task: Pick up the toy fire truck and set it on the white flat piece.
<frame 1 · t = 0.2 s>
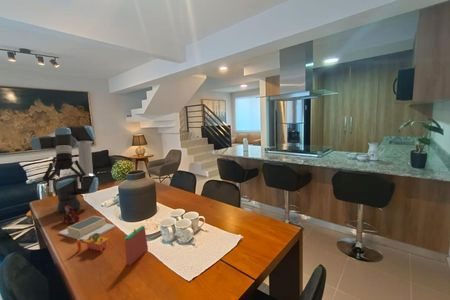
hand: (65, 190, 121), 27 cm above the table, fingers open, 13 cm apart
toy building block set: (111, 251, 107), on the table
white flat piece: (88, 230, 129), on the table
toy fire truck: (71, 222, 142), on the table
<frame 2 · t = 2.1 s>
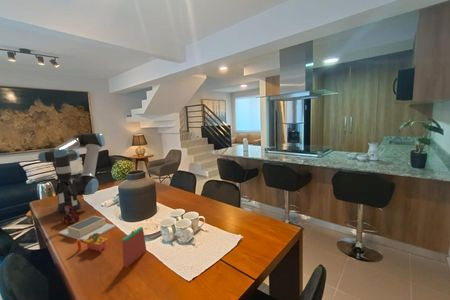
hand: (68, 204, 140), 12 cm above the table, fingers open, 13 cm apart
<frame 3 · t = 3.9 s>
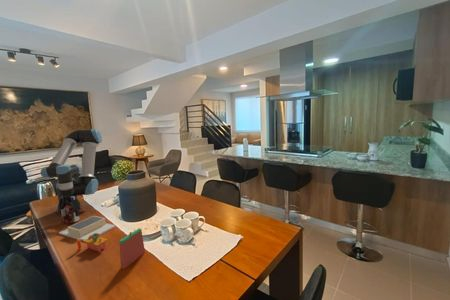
hand: (70, 219, 142), 2 cm above the table, fingers closed on toy fire truck, 12 cm apart
toy fire truck: (71, 221, 142), on the table, touching gripper
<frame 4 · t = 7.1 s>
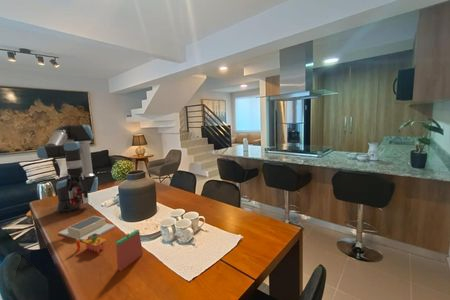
hand: (79, 201, 129), 17 cm above the table, fingers closed on toy fire truck, 12 cm apart
toy fire truck: (79, 204, 130), point 16 cm above the table, touching gripper
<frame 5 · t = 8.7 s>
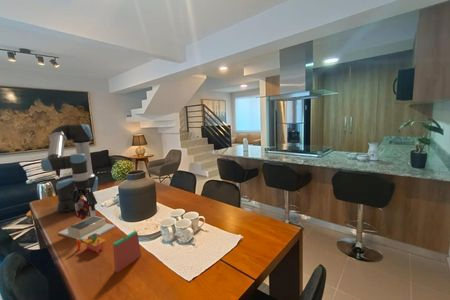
hand: (85, 214, 128), 10 cm above the table, fingers closed on toy fire truck, 12 cm apart
toy fire truck: (86, 216, 128), point 9 cm above the table, touching gripper
when the fingers open (8 cm above the table, at t = 10.2 s): toy fire truck drops 1 cm, resting on white flat piece.
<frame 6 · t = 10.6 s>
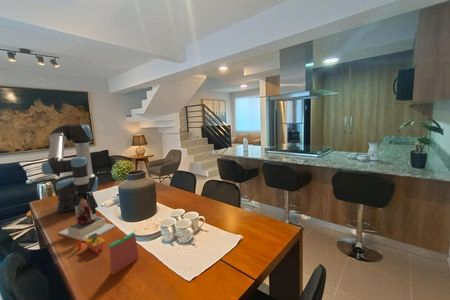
hand: (86, 217, 128), 8 cm above the table, fingers open, 13 cm apart
toy fire truck: (86, 222, 129), point 5 cm above the table, touching white flat piece, gripper
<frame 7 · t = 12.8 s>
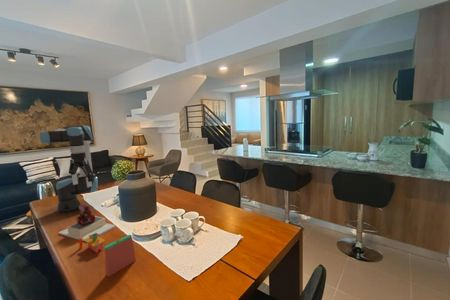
hand: (82, 185, 134), 26 cm above the table, fingers open, 13 cm apart
toy fire truck: (86, 222, 129), point 5 cm above the table, touching white flat piece
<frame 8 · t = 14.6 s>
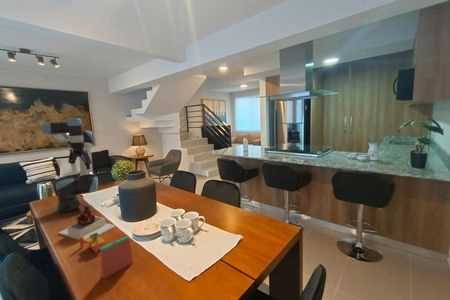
hand: (81, 173, 142), 32 cm above the table, fingers open, 13 cm apart
at the end: toy fire truck inside the target area on the white flat piece (0.3 cm from its centre), point 5.0 cm above the white flat piece's base; toy fire truck tilted 0°; the gripper is holding nothing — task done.
